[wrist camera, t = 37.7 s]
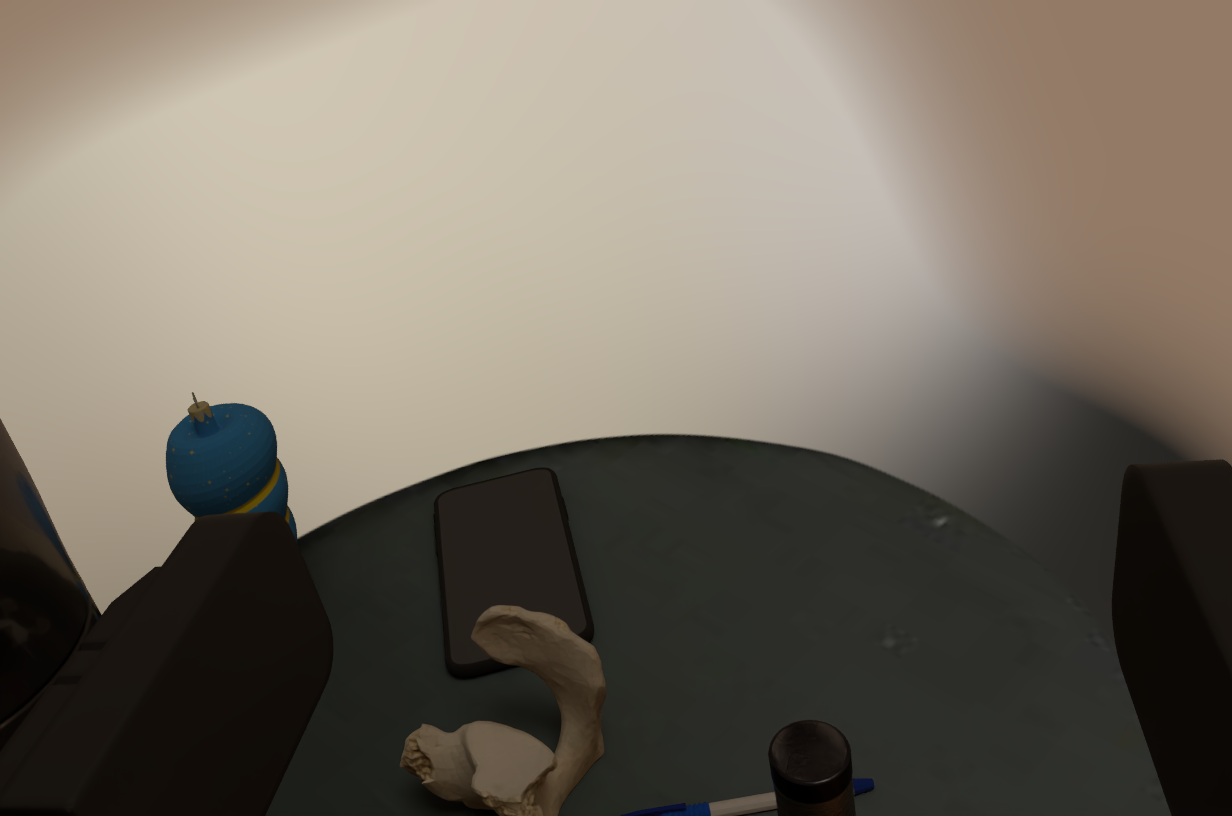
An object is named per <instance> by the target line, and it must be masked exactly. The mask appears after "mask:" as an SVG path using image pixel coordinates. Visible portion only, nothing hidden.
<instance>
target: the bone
mask: <svg viewBox="0 0 1232 816" xmlns="http://www.w3.org/2000/svg"><path fill="white" fill-rule="evenodd" d="M471 639H472V640H473V641H474V642H475V643H476V644H477V645H478V646H479V647H480V649H481V650H483V651H484V652H485V654H486V655H487V656H489V657H490V658H492V659H494V660H495V661H497V662H501V663H504V664H508V665H514V666H522V667H524V668H526V669H528V670H530V671H532V672H534V673H536V674H537V675H538V676H539V677H540V678H541V679H542V680H543V681H544V682H545V683H546V684H547V686H548V687H549V688H550V689H551V691H552V692H553V694H554V695H555V698H556V700H557V703H558V706H559V709H560V712H561V733H560V737H559V742H558V745H557V748H556V751H555V753H553V752H552V751H551V750H550V749H549V748H548V747H547V746H546V745H544V744H543V743H542V742H541V741H539V740H538V739H536V738H534V737H533V736H531V735H530V734H528V733H525V732H523V731H521V730H517V729H515V728H512V727H509V726H507V725H503V724H499V723H495V722H491V721H476V722H473V723H470V724H465V725H463V726H462V727H461V728H460V729H458V730H457V731H456V732H454V733H445V732H443V731H441V730H440V729H438V728H436V727H434V726H431V725H427V724H422V727H421V728H419V729H418V730H416V731H415V732H413V733H412V734H411V735H410V736H409V737H408V738H407V739H406V741H405V749H404V751H403V754H402V758H401V763H400V767H401V768H403V767H404V768H405V769H406V771H408V772H409V773H411V774H413V775H415V776H418V777H419V778H420V779H421V780H422V781H424V782H423V783H422V784H423V785H424V786H425V787H426V788H427V789H428V790H429V791H431V792H432V793H434V794H435V795H437V796H439V797H441V798H443V799H445V800H448V801H463V802H464V804H465V805H466V806H467V807H469V808H473V809H487V810H494V811H495V812H496V813H497V814H498V815H499V816H558V813H559V810H560V808H561V806H562V804H563V802H564V801H565V799H566V798H567V796H568V795H569V794H570V792H571V791H572V790H573V789H574V787H575V786H576V785H577V784H578V783H579V782H580V780H581V779H582V777H583V776H584V775H585V774H586V772H587V771H588V770H589V769H590V767H591V766H592V765H593V764H594V763H595V762H596V761H597V760H598V759H599V758H600V757H601V756H602V755H603V754H604V745H603V736H602V734H601V723H602V722H601V709H602V706H603V703H604V700H605V698H606V685H605V680H604V676H603V672H602V666H601V660H600V658H599V656H598V653H597V651H596V649H595V647H594V646H593V645H591V644H590V643H588V642H587V641H585V640H583V639H582V638H580V637H579V636H577V635H576V634H575V633H573V632H572V631H571V630H570V628H569V627H568V625H567V624H566V623H565V622H564V621H562V620H560V619H559V618H557V617H555V616H552V615H550V614H546V613H542V612H531V611H528V610H525V609H523V608H521V607H519V606H505V605H497V606H492V607H490V608H489V609H488V610H486V611H485V612H484V613H483V614H482V615H481V616H480V617H479V618H478V620H477V622H476V625H475V627H474V629H473V632H472V635H471Z"/></svg>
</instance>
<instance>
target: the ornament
mask: <svg viewBox="0 0 1232 816" xmlns="http://www.w3.org/2000/svg"><path fill="white" fill-rule="evenodd" d="M192 395H193V400H194V402H195V403H194V404H193V405H191V406H190V407H189V408H188V412H189V415H188V416H187V417H185V418H184V419H183V420H182V421H181V422H180V423H179V424H178V425H177V426H176V427H175V428H174V429H173V430H172V432H171V434H170V436H169V439H168V442H167V451H166V469H167V477H168V482H169V485H170V489H171V491H172V493H173V494H174V496H175V498H176V500H177V501H178V502H179V503H180V504H181V505H182V506H183V507H184V508H185V509H186V510H187V511H188V512H190V513H191V514H192V515H193V516H194V517H195V521H196V520H197V519H198V518H200V517H202V516H205V515H217V514H234V513H252V512H269V511H273V512H277V513H279V514H280V515H282V516H283V517H284V518H285V519H286V521H287V522H288V524H289V526H290V528H291V530H292V532H293V535H294V537H295V539H296V542H297V529H296V523H295V520H294V517H293V514H292V512H291V510H290V509H289V507H288V506H287V502H288V482H287V476H286V472H285V469H284V467H283V466H282V464H281V462H280V461H279V459H278V458H277V441H276V434H275V431H274V428H273V426H272V424H271V422H270V420H269V419H268V418H267V417H266V415H265V414H263V413H262V412H261V411H259V410H257V409H256V408H254V407H251V406H248V405H244V404H237V403H231V404H219V405H214V406H209V404H208V403H207V402H205V401H202V402H198V403H197V400H196V397H195V395H194V393H192Z"/></svg>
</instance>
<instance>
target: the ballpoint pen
mask: <svg viewBox="0 0 1232 816" xmlns="http://www.w3.org/2000/svg"><path fill="white" fill-rule="evenodd" d="M873 788H874V783H873V780H872V779H853V790H854V795H857V794H859V793H862V792H865V791H868V790H871V789H873ZM772 809H777V804H776V798H775V792H771V793H766V794H760V795H754V796H748V797H742V798H737V799H731V800H725V801H719V802H713V803H706V802H704V803H703V804H701V803H698V805H696V804H693V805H692V806H691V805H688V806H687V807H686V804H685V803H682V804H676V805H670V806H664V807H657V808H651V809H646V810H640V811H636V812H632V813H628V814H624V815H621V816H737V815H743V814H749V813H755V812H761V811H766V810H772Z"/></svg>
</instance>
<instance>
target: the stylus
mask: <svg viewBox="0 0 1232 816" xmlns="http://www.w3.org/2000/svg"><path fill="white" fill-rule="evenodd" d="M768 756H769V762H770V769H771V776H772V779H773V784H774V791H775V798H776V804H777V811H778V816H856V813H855V802H854V790H853V779H852V759H851V749H850V745H849V743H848V741H847V739H846V737H845V736H844V735H843V734H842V733H841V732H840V731H839V730H838V729H837V728H835V727H834V726H832V725H830V724H828V723H825V722H821V721H816V720H803V721H798V722H794V723H791V724H789V725H787V726H785V727H784V728H782V729H781V730H780V731H778V733H777V734H776V735H775V736H774V737H773V739H772V741H771V743H770V746H769V751H768Z"/></svg>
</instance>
